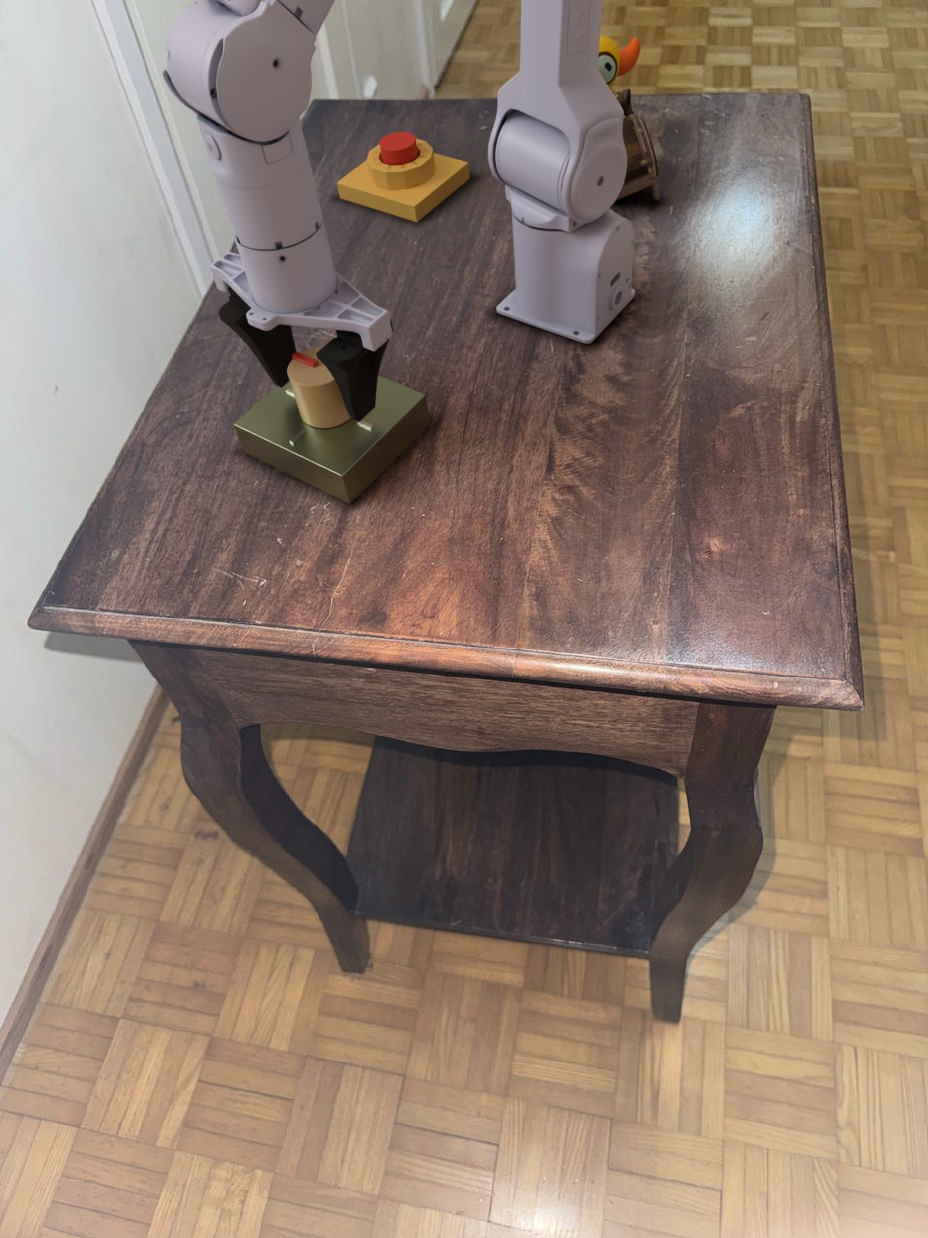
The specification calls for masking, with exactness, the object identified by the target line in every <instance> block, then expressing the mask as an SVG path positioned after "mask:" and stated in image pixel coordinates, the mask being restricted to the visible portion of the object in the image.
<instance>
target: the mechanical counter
mask: <svg viewBox="0 0 928 1238" xmlns="http://www.w3.org/2000/svg"><path fill="white" fill-rule="evenodd" d="M622 133H623V141H624V144H625V148H626V152H627V170H626V176H625V180H624V184H623V186H622V189H621V191H620V193H619V195H618V197H617V199H616V200H615V202H617V201H619V200H622V199H624V198H626V197H628V196H630V195H633V194H635V193H638V192H640V191H643V190H645V189H649V192H650V194H651V197H652V198H653V200H654V201H659V199H660V197H661V196H660V195H661V194H660V188H659V182H658V176H659V173H660V170H659V166H658V160H657V159H658V158H657V155H656V151H655V148H654V144H653V142H652V139H651V136H650V133H649V129H648V126H647V124H646V122H645V120H644V118H643V117H642V116H641V115H640V114H638V113H636V112H635V113H634V114H632V115H629V116H628V117H623V131H622Z"/></svg>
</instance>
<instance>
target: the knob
mask: <svg viewBox="0 0 928 1238" xmlns="http://www.w3.org/2000/svg"><path fill="white" fill-rule="evenodd" d="M323 347H324V346H317V347H311V348H309V349H306V350H303V351H301V352H299V351H297V352H296V353H294V354H293V355H292V357H293V359H292V361H291V362H290V364H289V366H288V369H287V373H288V377H289V380H290V383H291V386H292V389H293V393H294V396H295V399H296V402H297V405H298V409H299V412H300V415H301V418H302V419H303V421H304V422H305V423H307V424H308V425H310V426H313V427H316V428H331V427H335V426H338V425H341V424H343V423H345V422H346V421H348V420H349V419H350V418H351V417H350V415H349V414H348V412H347V410H346V407H345V404H344V401H343V398H342V395H341V392H340V390H339V387H338V385H337V383H336V381H335V379H334V378H333V376H332V375H331V373H330V372H329V370H328V369H327V368H326V366H325V365H324V364H323V363H322V362H321V361H320V360H319V359H318V358H317V355H316V353H317V352H318V351H319V350H320V349H322V348H323Z"/></svg>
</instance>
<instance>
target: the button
mask: <svg viewBox="0 0 928 1238" xmlns="http://www.w3.org/2000/svg"><path fill="white" fill-rule="evenodd" d="M416 139H417V137H416V136H415V135H414V134H413V133H411V132H407V131H396V132H392V133H389V134H387V135H385V136H383V137H382V138H381V139H380V141H379V144H380V150H381V156H382V161H383V163H384V164H387V165H390V166H395V165H405V164H408V163H411V162H413V161H414V160H416V159H417V158H418V150H417V143H416Z"/></svg>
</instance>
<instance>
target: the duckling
mask: <svg viewBox="0 0 928 1238" xmlns="http://www.w3.org/2000/svg"><path fill="white" fill-rule="evenodd" d="M641 49H642V47H641V41H640V40H639V38H638V37H633V38H632V40H631V41H630V43H629V44H628V45H626V47H624V48H623V49H621V50H620V49H619V46H618V45H617V43H616V42H615V41H614V40H613V39H612V38H610V37H608V36H605V35H602V34H600V44H599V56H598V70H599V72H600V74H601V76H602V78H603V79H604V81H605V82H606V84H607V85H608V87H609V88H610V90H611V91H612V92H616V91H615V90H614V89H613V86H614V84H615V82H616V80H617V79H618V77H621V76H622V77H623V76H624V75H627V74H628V73H629V72H630V71H631V70H633V68H634V67H635V66H636V64H637V63H638V59H639V57H640V53H641Z"/></svg>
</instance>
